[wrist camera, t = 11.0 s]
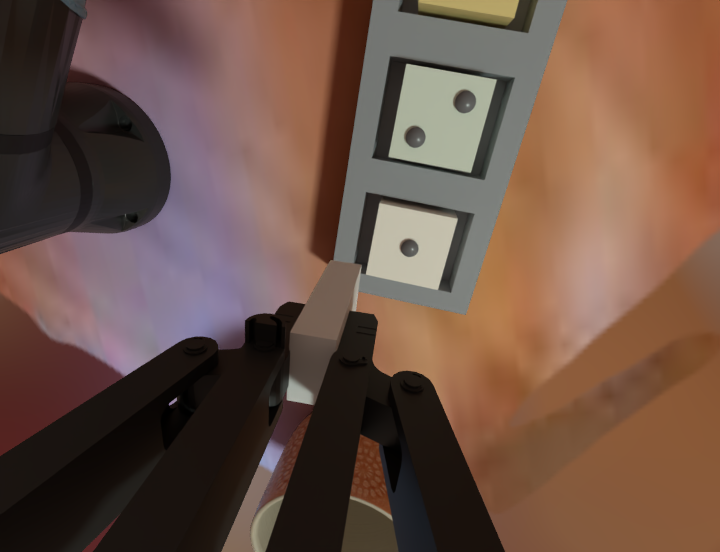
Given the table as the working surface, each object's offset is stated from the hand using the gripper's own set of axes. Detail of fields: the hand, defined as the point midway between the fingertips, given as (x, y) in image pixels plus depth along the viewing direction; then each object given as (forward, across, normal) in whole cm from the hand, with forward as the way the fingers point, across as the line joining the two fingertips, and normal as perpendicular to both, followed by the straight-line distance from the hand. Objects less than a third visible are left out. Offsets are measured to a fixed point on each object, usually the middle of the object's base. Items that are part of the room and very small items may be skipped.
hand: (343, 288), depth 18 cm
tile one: (+21, +4, -3) cm, 22 cm away
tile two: (+21, +4, +8) cm, 23 cm away
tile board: (+22, +4, +8) cm, 24 cm away
